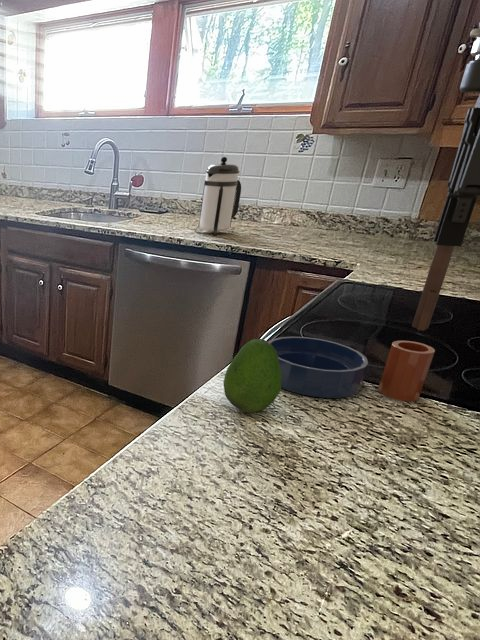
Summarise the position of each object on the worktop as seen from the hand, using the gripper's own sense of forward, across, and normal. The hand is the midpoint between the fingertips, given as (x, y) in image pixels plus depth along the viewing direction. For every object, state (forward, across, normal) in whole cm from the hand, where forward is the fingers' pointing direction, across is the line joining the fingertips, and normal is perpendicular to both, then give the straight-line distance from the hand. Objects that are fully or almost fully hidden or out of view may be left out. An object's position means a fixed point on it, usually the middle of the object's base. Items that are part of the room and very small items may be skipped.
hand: (446, 243), depth 75 cm
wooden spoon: (+13, 0, 0) cm, 13 cm away
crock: (+25, 0, 0) cm, 25 cm away
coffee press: (+25, -142, -54) cm, 154 cm away
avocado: (+25, +16, -21) cm, 36 cm away
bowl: (+25, 0, -13) cm, 28 cm away
